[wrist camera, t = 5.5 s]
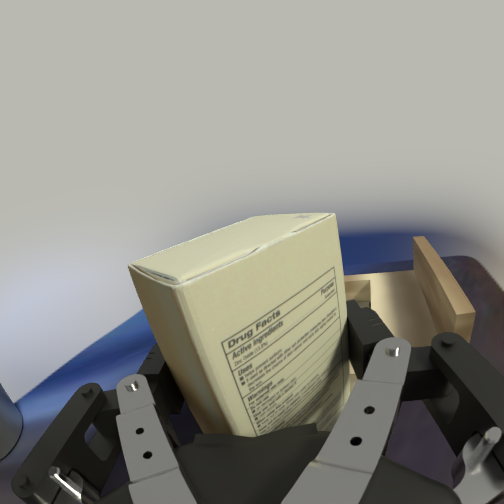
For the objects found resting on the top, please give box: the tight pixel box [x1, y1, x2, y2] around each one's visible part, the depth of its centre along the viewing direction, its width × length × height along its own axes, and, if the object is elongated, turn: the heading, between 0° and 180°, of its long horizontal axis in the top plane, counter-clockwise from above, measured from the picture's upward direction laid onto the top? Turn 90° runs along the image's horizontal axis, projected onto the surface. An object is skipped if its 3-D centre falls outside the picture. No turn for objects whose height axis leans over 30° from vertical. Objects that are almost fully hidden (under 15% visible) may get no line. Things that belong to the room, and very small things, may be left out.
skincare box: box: [128, 213, 350, 437], centre depth 10 cm, size 6×4×12 cm
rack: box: [344, 236, 475, 394], centre depth 21 cm, size 18×15×6 cm
